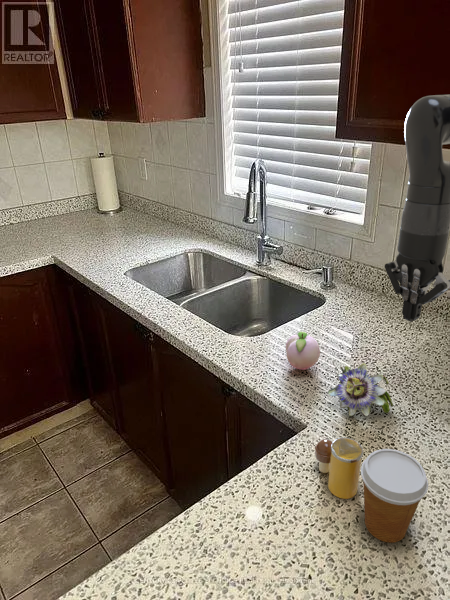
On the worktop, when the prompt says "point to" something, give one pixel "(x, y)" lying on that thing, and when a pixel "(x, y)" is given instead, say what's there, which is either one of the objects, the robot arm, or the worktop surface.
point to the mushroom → (323, 454)
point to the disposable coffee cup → (391, 492)
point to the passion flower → (360, 390)
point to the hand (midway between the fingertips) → (410, 319)
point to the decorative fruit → (302, 351)
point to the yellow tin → (344, 467)
